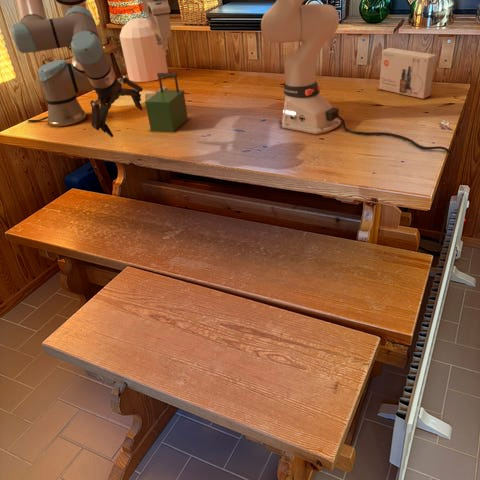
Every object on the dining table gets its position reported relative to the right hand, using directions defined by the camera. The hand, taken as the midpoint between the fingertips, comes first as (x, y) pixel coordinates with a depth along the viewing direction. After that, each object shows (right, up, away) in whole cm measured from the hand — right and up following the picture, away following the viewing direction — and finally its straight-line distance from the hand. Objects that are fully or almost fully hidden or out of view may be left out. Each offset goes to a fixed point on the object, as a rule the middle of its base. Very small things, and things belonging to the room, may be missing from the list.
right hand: (162, 47), depth 169 cm
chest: (+1, -25, +12) cm, 28 cm away
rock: (-8, -8, +38) cm, 40 cm away
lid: (0, -17, +6) cm, 18 cm away
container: (-20, +16, +74) cm, 79 cm away
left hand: (-10, -30, -14) cm, 35 cm away
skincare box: (+95, -10, +20) cm, 98 cm away
